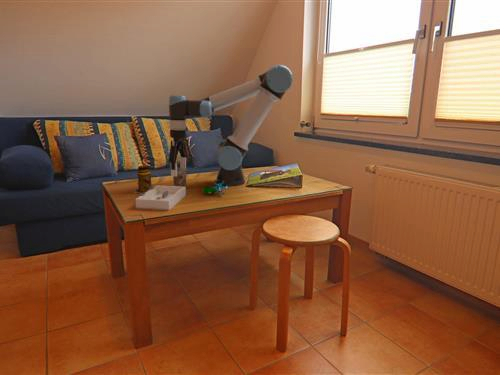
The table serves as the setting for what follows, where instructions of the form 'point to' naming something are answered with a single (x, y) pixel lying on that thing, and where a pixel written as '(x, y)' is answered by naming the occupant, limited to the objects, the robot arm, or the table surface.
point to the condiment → (143, 179)
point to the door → (180, 178)
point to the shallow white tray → (160, 197)
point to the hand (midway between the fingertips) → (178, 173)
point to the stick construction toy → (214, 189)
